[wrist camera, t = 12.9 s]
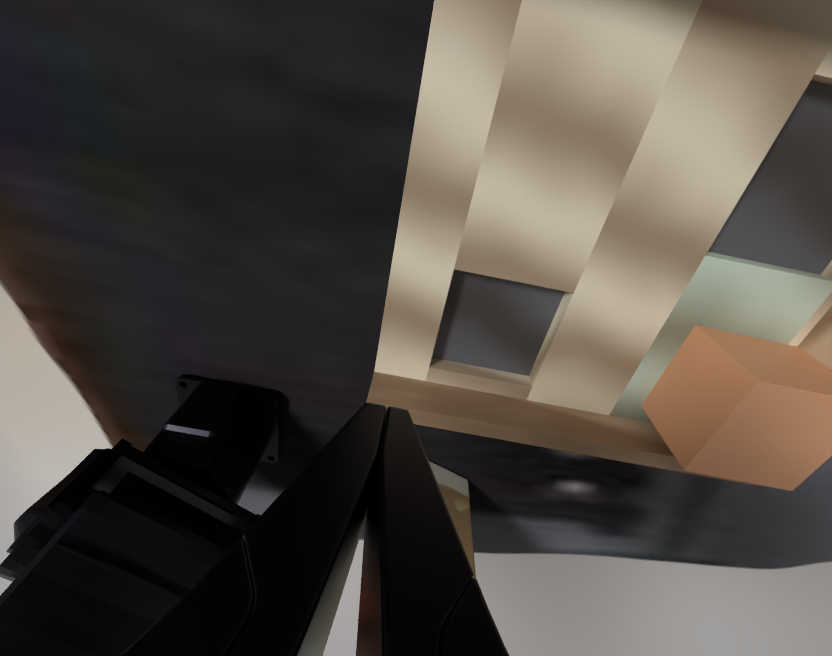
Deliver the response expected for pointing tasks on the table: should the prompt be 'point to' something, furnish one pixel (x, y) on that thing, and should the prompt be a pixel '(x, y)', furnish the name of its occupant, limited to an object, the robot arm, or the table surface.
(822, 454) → the rust block
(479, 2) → the tray
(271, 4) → the table surface
